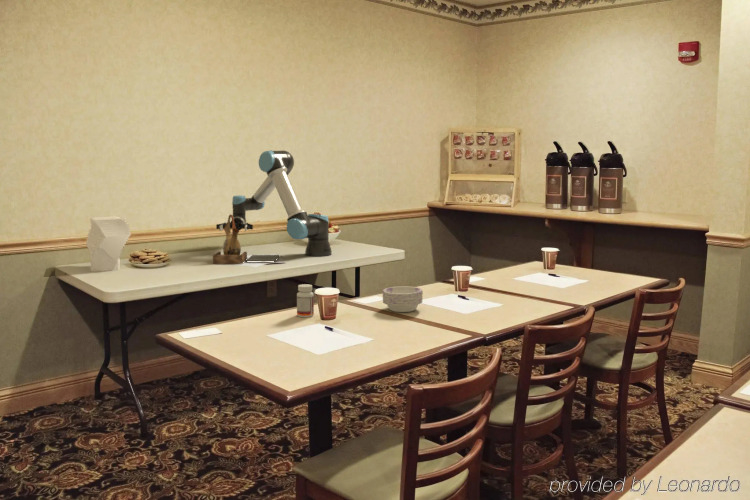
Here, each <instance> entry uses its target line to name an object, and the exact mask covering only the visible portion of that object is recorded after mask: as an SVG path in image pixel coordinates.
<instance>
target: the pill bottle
mask: <svg viewBox="0 0 750 500" xmlns="http://www.w3.org/2000/svg"><path fill="white" fill-rule="evenodd" d="M297 290H298V292H297V293H296V316H298V317H299V318H310V317H313V316H314V315H315V314H314V313H315V305H314V303H315V301H314V300H315V299H314V298H315V296H314V292H312V291H313V285H312V284H307V283H306V284H305V283H304V284H303V283H302V284H298V286H297Z"/></svg>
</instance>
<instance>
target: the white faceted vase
mask: <svg viewBox="0 0 750 500" xmlns="http://www.w3.org/2000/svg"><path fill="white" fill-rule="evenodd" d="M89 221H90V224H91V225H90V229H89V231H88V234H87V239H86V242H85V243H86V244H85V245H86V247H87V249H88V252H89V257H90V268H89V269H90V272H99V271H102V272H113V271H112V270H114V271H119V270H120V267H121V266H120V264H121V263H120V262H121V259H120V258H121V255H122V251H123V248H124V247H125V246H126V243H127V242H128V241H129V238H130V236H131V235H132V233H131V229H130V226H129V224H128V223H127V221H125V219H123V218H121V217H119V216H117V215H110V216H109V215H108V216H96V217H91V218H89ZM118 269H119V270H118Z"/></svg>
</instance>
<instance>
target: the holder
mask: <svg viewBox="0 0 750 500" xmlns="http://www.w3.org/2000/svg"><path fill="white" fill-rule="evenodd" d="M221 253H222V252H221V251H217V252H216V253H214V254H213V255H212V263H213V264H214V265H215V264H216V265H239V264H238V263H243V262H244V261H245V260H246V259H248V252H247V251H243V252H241V253H240V255H224V254H221ZM246 261H247V260H246ZM246 261H245V262H246ZM245 262H244V263H245ZM244 263H243V264H244Z"/></svg>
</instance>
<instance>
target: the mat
mask: <svg viewBox="0 0 750 500" xmlns="http://www.w3.org/2000/svg"><path fill="white" fill-rule="evenodd" d="M277 258H278V259H279V258H280V254H252V255H251V256H250V257H247V260H246V262H247V261H274V262H275V261H276V259H277ZM278 259H277V260H278ZM276 262H277V261H276ZM276 262H275V263H276Z"/></svg>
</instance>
